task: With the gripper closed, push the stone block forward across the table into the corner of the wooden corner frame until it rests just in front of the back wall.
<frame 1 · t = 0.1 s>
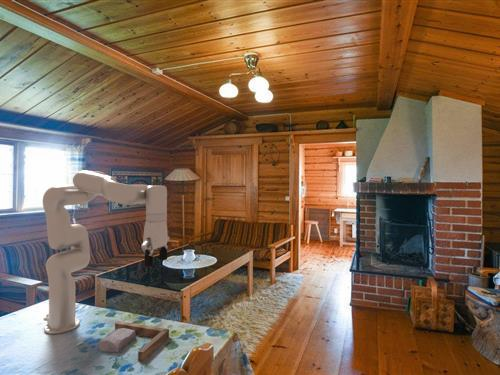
hand: (156, 262, 115), 31 cm above the table, tool pointing down, fingers open, 9 cm apart
stone block: (116, 344, 115), on the table
wooden corner frame: (129, 345, 114), on the table
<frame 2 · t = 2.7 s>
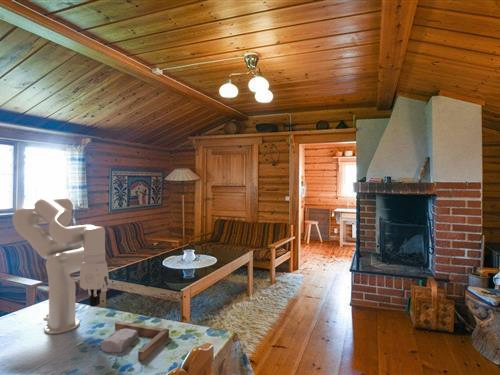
hand: (95, 305, 118), 13 cm above the table, tool pointing down, fingers closed
stone block: (118, 344, 115), on the table
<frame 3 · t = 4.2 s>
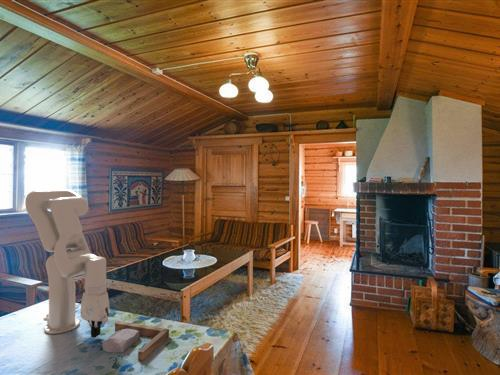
hand: (95, 335, 118), 1 cm above the table, tool pointing down, fingers closed
nothing on the table moved.
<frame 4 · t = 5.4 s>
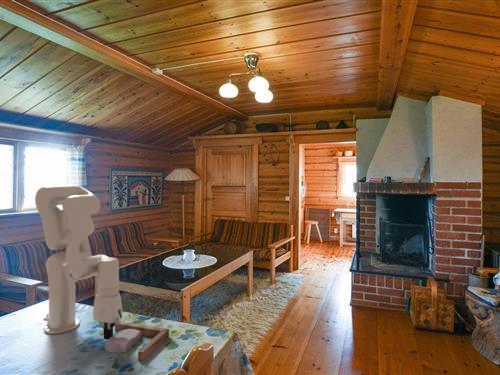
hand: (108, 337, 116), 1 cm above the table, tool pointing down, fingers closed
stone block: (122, 345, 115), on the table, touching gripper
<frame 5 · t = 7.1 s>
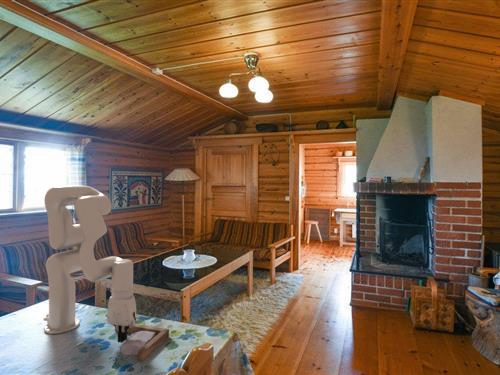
hand: (122, 340, 115), 1 cm above the table, tool pointing down, fingers closed
stone block: (137, 347, 113), on the table
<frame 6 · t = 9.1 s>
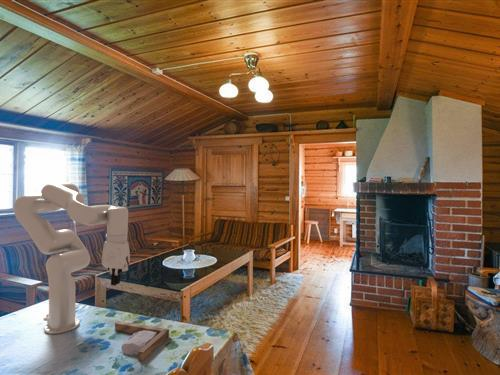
hand: (115, 284, 119), 21 cm above the table, tool pointing down, fingers closed
nothing on the table moved.
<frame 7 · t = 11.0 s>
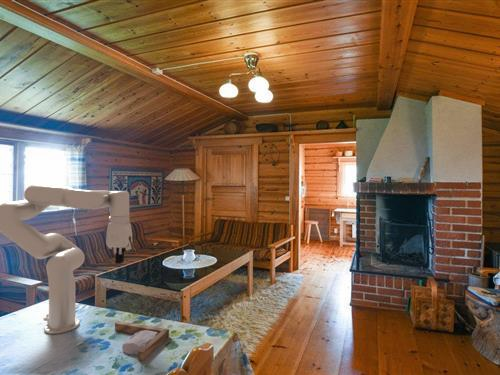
hand: (119, 262, 129), 27 cm above the table, tool pointing down, fingers closed
nothing on the table moved.
at the end: stone block inside the target area (1.2 cm from its centre), on the table; stone block moved 9.9 cm from its start; stone block tilted 1° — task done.
